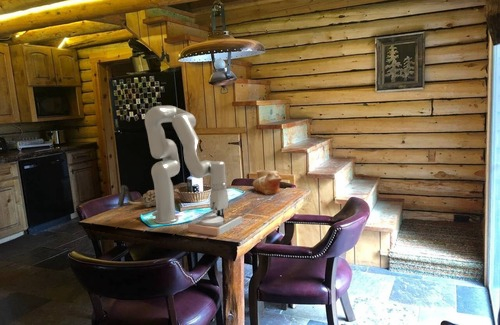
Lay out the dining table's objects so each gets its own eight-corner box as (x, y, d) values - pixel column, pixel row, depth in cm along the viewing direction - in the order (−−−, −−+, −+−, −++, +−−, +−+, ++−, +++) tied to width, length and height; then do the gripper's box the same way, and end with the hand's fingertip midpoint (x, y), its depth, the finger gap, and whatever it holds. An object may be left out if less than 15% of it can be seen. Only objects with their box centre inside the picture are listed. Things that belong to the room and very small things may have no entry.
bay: (188, 231, 191) (187, 224, 191) (214, 218, 210) (214, 212, 209) (217, 236, 183) (217, 228, 182) (242, 222, 202) (241, 215, 201)
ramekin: (218, 234, 186) (218, 223, 185) (197, 232, 189) (196, 221, 189) (227, 226, 196) (227, 216, 195) (207, 225, 200) (206, 215, 199)
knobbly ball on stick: (159, 202, 250) (157, 187, 248) (166, 205, 242) (165, 189, 241) (125, 209, 236) (123, 193, 235) (131, 212, 229) (130, 196, 227)
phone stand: (120, 206, 244) (118, 187, 242) (117, 204, 249) (115, 186, 247) (134, 204, 249) (133, 185, 247) (132, 202, 254) (130, 183, 252)
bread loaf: (269, 196, 253) (268, 173, 251) (249, 189, 276) (248, 168, 274) (287, 193, 260) (286, 170, 258) (266, 186, 283) (265, 165, 280)
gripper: (220, 182, 205) (222, 217, 208) (203, 189, 192) (206, 225, 195) (233, 183, 201) (235, 218, 204) (216, 190, 189) (218, 227, 191)
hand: (220, 222), depth 200 cm, fingers closed
